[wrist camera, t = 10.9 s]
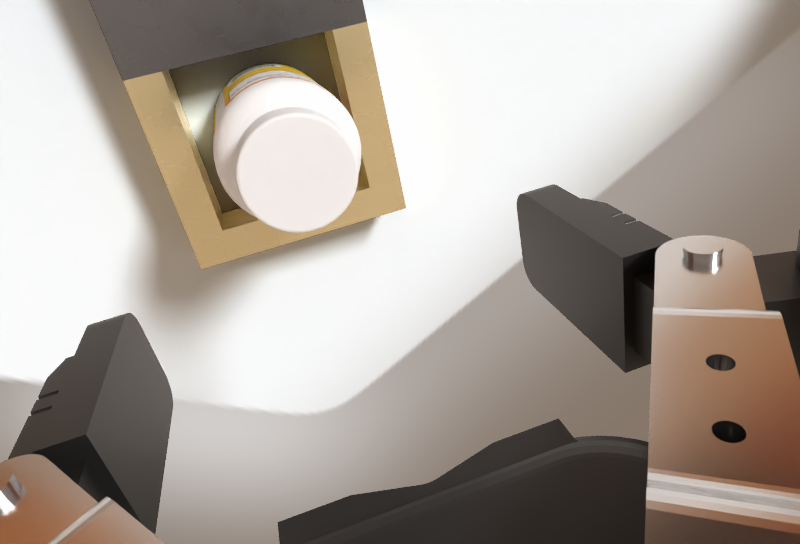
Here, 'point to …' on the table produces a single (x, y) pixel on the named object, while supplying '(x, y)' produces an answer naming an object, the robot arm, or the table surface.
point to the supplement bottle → (285, 148)
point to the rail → (225, 35)
